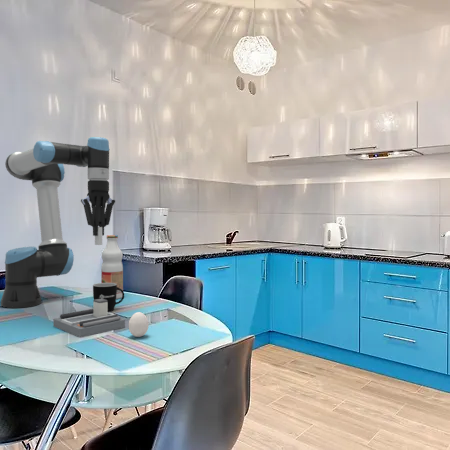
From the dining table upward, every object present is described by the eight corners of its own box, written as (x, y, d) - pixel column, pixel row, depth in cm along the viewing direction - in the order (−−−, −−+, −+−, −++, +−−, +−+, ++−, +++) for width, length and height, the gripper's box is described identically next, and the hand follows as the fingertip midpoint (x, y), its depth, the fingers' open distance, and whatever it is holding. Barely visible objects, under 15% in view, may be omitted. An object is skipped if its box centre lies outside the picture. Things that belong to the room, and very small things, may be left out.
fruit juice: (122, 299, 187) (122, 235, 186) (100, 300, 185) (99, 235, 184) (123, 295, 196) (123, 234, 195) (102, 295, 194) (102, 234, 194)
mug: (95, 313, 160) (95, 287, 160) (91, 309, 168) (91, 283, 168) (126, 310, 165) (127, 284, 165) (121, 306, 173) (121, 281, 173)
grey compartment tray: (53, 326, 142) (53, 316, 142) (96, 317, 154) (96, 308, 154) (79, 337, 130) (79, 326, 130) (125, 327, 142) (125, 317, 142)
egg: (131, 333, 134) (131, 309, 134) (150, 334, 134) (150, 310, 134) (126, 339, 128) (126, 314, 128) (146, 339, 128) (146, 314, 128)
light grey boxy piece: (93, 316, 145) (93, 299, 145) (101, 314, 147) (101, 298, 147) (99, 318, 142) (99, 301, 142) (107, 316, 145) (107, 300, 145)
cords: (83, 327, 131) (83, 322, 131) (60, 318, 142) (60, 314, 142) (120, 320, 141) (120, 315, 141) (96, 312, 152) (96, 307, 152)
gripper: (87, 178, 148) (87, 246, 149) (119, 181, 157) (119, 244, 158) (76, 179, 153) (76, 245, 154) (108, 181, 163) (108, 243, 163)
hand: (98, 244), depth 156 cm, fingers closed
